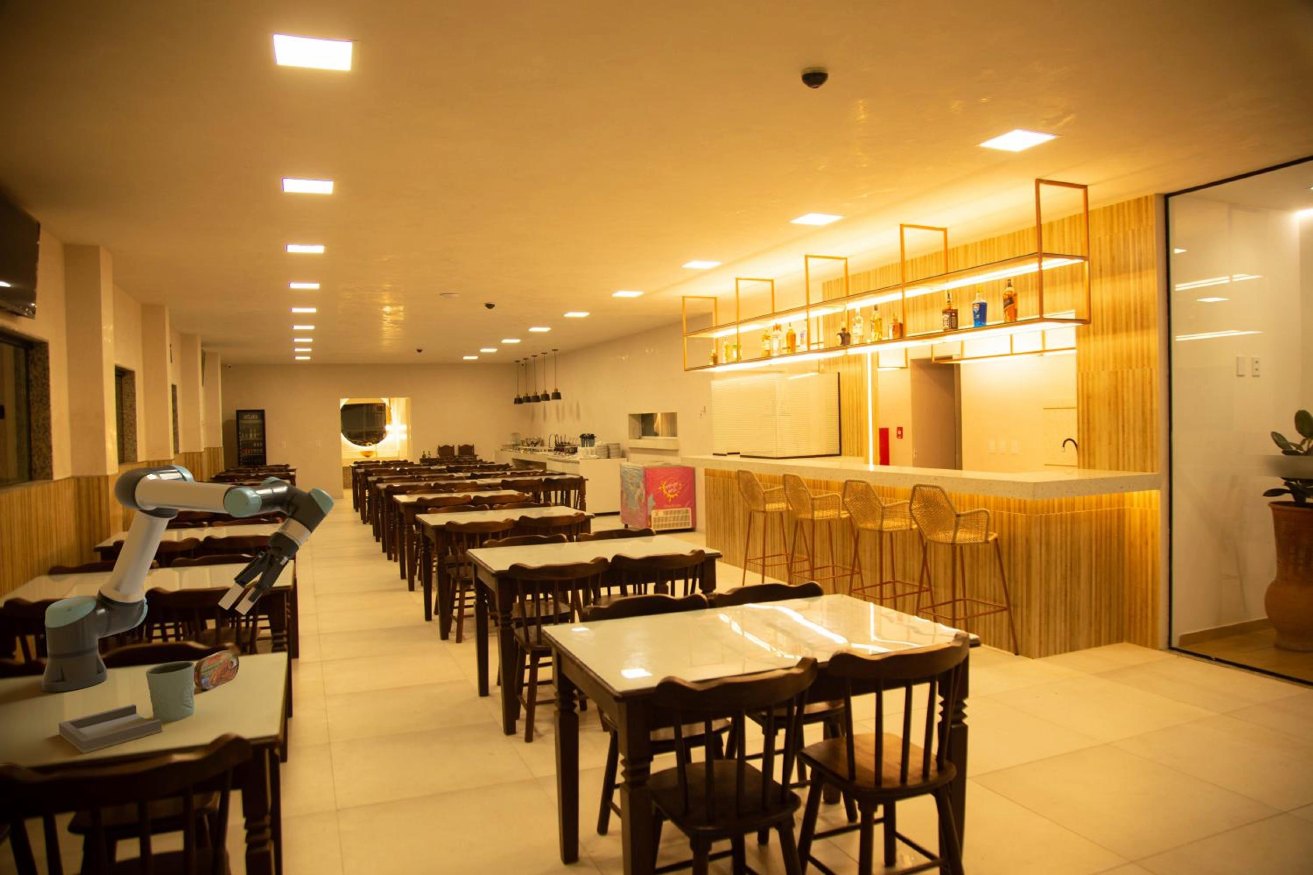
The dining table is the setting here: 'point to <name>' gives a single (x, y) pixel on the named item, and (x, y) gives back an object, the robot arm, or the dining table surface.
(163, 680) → the green embossed cup
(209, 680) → the tin
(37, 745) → the dining table surface
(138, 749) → the dining table surface
